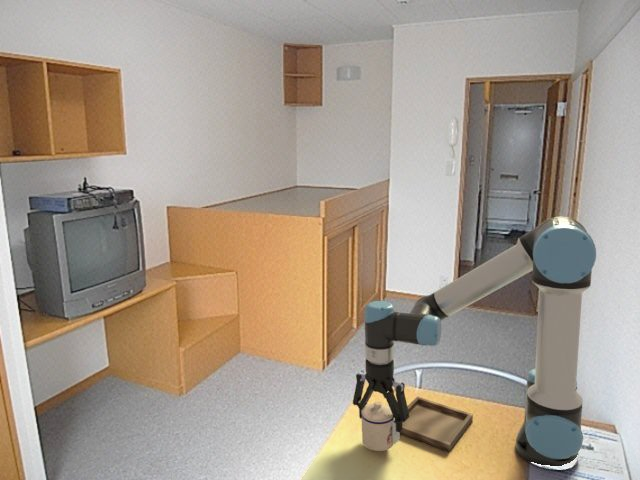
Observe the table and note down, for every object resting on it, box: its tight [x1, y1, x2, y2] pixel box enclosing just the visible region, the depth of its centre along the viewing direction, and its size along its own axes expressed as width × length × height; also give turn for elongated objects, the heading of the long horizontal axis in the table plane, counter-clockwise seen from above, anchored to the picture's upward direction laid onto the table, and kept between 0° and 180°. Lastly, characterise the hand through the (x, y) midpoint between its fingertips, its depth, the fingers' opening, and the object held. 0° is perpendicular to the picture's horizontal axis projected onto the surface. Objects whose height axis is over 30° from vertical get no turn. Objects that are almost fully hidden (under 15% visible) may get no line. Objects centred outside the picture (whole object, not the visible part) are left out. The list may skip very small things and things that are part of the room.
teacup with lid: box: [361, 401, 395, 452], centre depth 132 cm, size 12×9×12 cm
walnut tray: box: [400, 396, 474, 454], centre depth 142 cm, size 18×18×2 cm
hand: (380, 435), depth 133 cm, fingers closed on teacup with lid, 9 cm apart
